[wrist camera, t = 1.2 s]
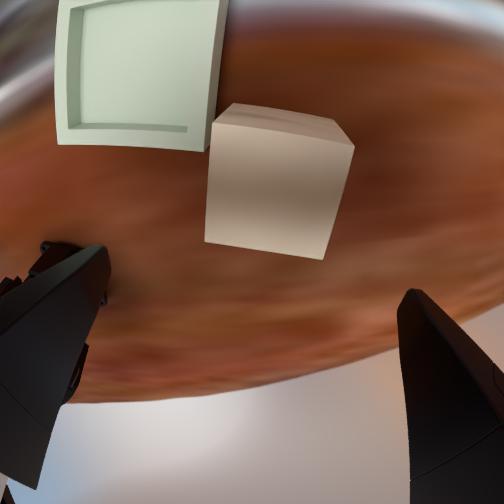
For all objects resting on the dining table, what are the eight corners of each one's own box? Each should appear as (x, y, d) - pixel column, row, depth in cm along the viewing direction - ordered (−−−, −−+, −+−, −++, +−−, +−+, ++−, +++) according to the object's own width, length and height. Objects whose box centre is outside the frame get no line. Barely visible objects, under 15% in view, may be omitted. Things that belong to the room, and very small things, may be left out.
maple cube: (313, 205, 20) (322, 259, 15) (224, 191, 20) (204, 241, 15) (333, 119, 17) (354, 146, 12) (233, 102, 17) (212, 122, 12)
